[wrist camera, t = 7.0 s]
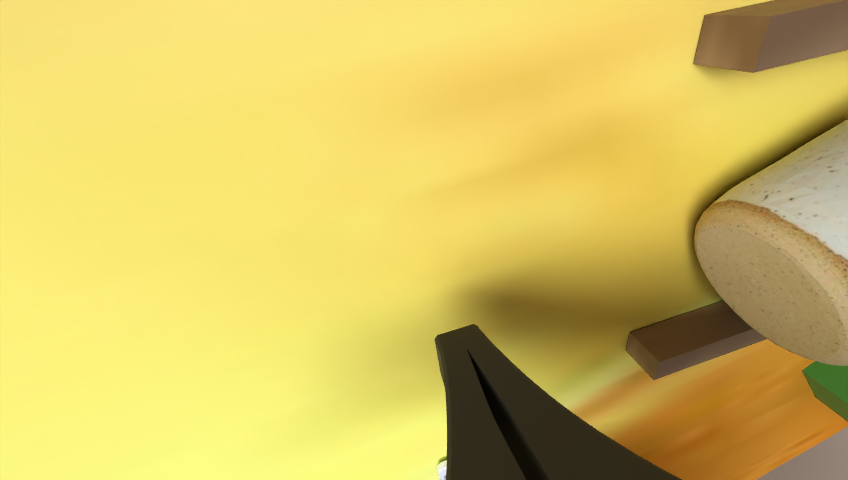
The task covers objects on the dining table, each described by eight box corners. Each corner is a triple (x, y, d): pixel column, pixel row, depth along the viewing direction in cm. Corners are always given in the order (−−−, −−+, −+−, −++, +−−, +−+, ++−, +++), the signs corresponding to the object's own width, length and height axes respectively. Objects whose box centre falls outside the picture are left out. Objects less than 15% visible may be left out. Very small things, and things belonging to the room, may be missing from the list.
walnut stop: (850, 271, 22) (894, 292, 21) (625, 349, 20) (653, 380, 19) (1062, -61, 14) (1164, -70, 12) (704, 14, 12) (771, 16, 10)
